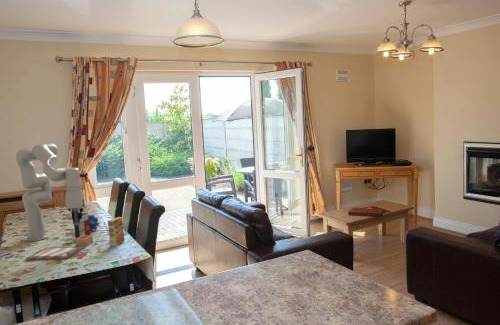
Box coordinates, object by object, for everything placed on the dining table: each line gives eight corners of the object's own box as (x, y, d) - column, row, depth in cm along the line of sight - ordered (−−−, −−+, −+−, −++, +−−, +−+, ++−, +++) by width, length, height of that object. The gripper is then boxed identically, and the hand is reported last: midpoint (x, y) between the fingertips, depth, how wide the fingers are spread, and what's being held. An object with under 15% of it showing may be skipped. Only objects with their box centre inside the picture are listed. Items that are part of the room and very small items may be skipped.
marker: (73, 224, 226) (72, 208, 225) (76, 223, 229) (75, 207, 228) (78, 224, 226) (76, 208, 224) (81, 223, 228) (79, 207, 227)
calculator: (80, 240, 241) (78, 217, 240) (74, 240, 242) (72, 217, 241) (91, 235, 252) (88, 212, 250) (85, 234, 253) (83, 212, 251)
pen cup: (76, 246, 229) (75, 239, 229) (82, 242, 236) (81, 235, 236) (87, 246, 229) (86, 238, 228) (93, 242, 235) (92, 235, 235)
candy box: (115, 246, 225) (113, 221, 224) (109, 245, 227) (107, 220, 225) (124, 241, 234) (122, 217, 232) (119, 241, 235) (116, 216, 233)
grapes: (84, 234, 255) (82, 216, 254) (81, 232, 260) (79, 215, 259) (101, 230, 263) (100, 213, 261) (98, 228, 268) (96, 211, 266)
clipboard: (26, 260, 210) (25, 256, 210) (46, 248, 228) (46, 245, 228) (66, 259, 207) (66, 255, 207) (84, 248, 225) (84, 244, 225)
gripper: (57, 190, 222) (60, 221, 224) (83, 189, 220) (86, 220, 222) (65, 188, 230) (68, 217, 232) (90, 187, 227) (93, 217, 229)
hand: (77, 218), depth 227 cm, fingers closed on marker, 3 cm apart
